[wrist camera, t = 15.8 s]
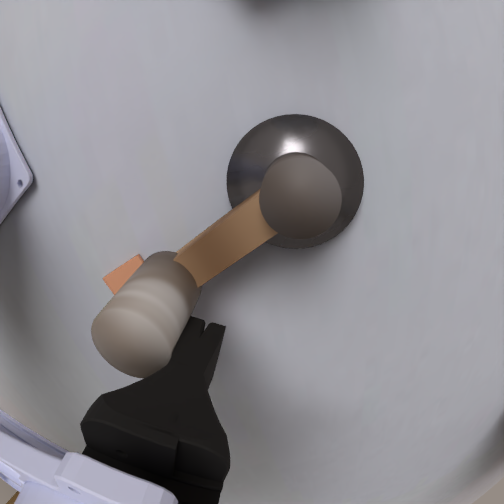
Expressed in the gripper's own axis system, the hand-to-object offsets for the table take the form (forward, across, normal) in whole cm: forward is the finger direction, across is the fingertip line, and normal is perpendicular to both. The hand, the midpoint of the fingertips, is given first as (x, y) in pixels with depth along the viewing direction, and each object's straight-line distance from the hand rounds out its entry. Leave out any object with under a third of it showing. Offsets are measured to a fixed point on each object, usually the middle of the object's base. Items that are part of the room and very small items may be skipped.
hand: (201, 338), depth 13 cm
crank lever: (+3, 0, -4) cm, 5 cm away
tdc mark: (+4, +5, 0) cm, 6 cm away
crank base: (+4, -2, -7) cm, 8 cm away
